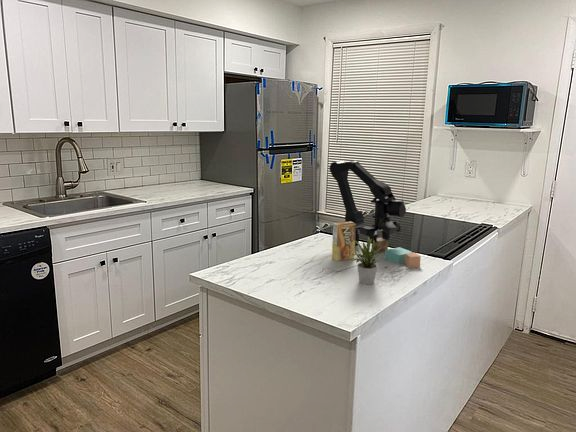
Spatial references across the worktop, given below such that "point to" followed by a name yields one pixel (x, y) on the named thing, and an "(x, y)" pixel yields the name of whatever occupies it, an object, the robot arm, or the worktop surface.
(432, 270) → the worktop surface
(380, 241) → the walnut cube
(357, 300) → the worktop surface
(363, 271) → the house plant
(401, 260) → the teal base block
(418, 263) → the terracotta cube
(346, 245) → the candy box
